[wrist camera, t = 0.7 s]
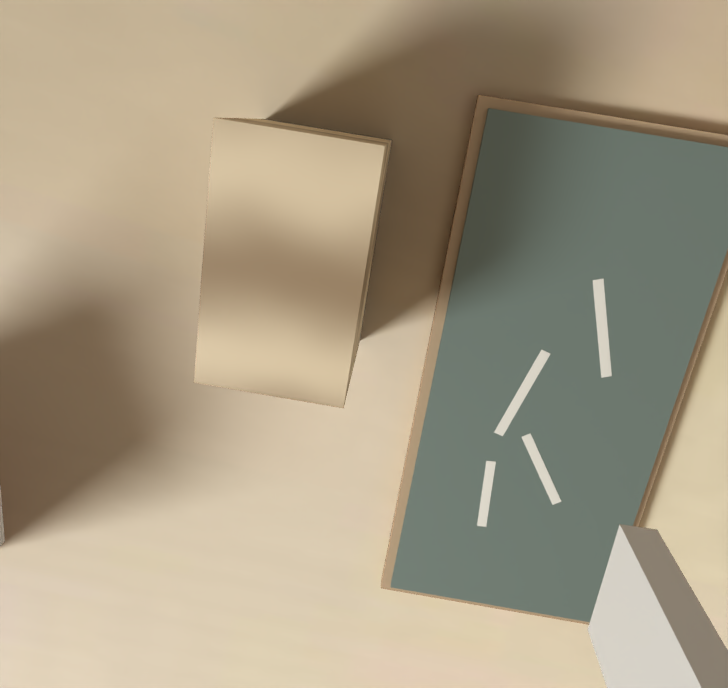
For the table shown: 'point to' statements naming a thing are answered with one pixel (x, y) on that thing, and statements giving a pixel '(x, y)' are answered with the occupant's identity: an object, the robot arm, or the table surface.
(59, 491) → the table surface
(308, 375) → the eraser block
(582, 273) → the chalkboard
